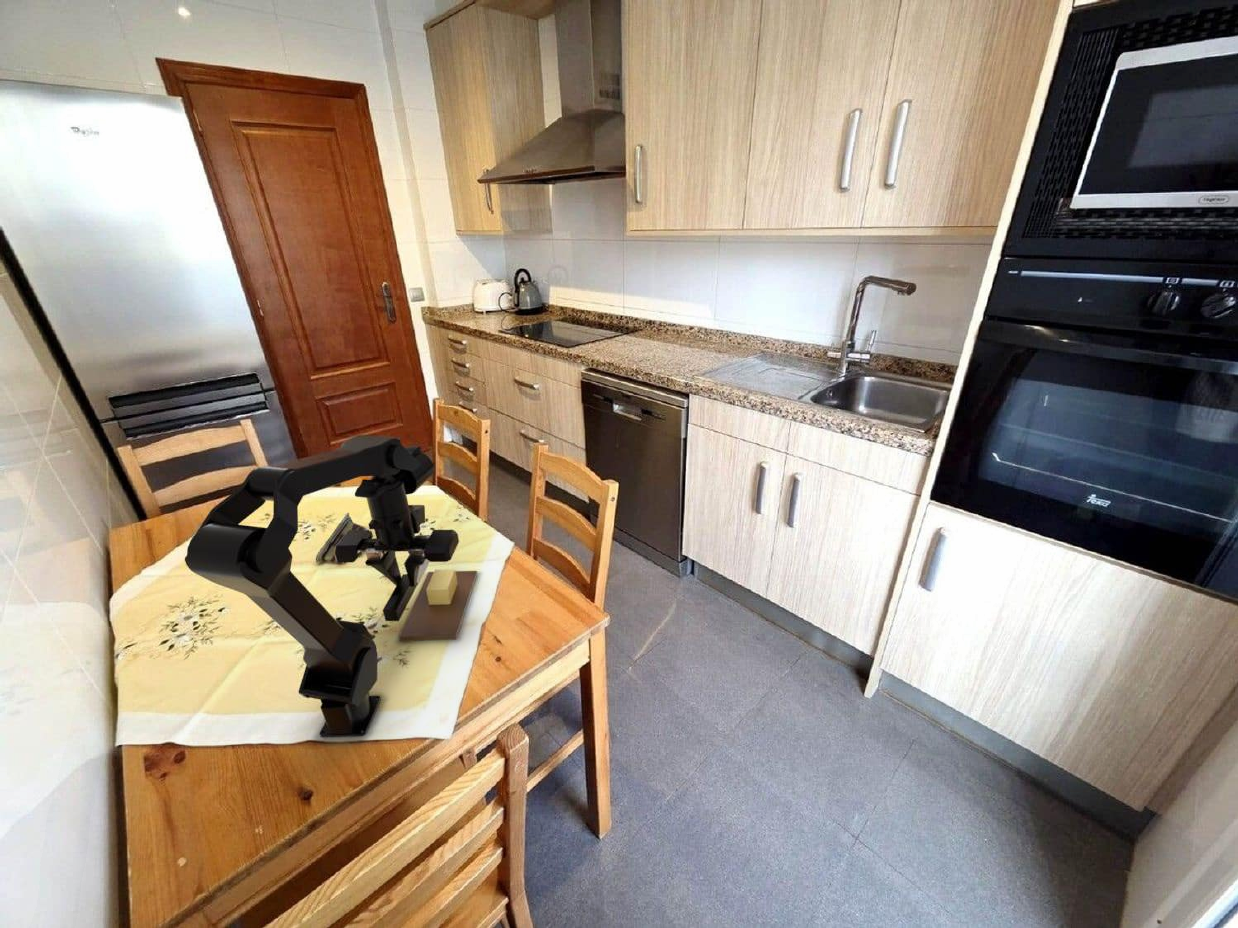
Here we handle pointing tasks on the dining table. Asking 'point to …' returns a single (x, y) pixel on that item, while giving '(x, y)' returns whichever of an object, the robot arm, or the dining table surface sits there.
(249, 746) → the dining table surface
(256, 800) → the dining table surface
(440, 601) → the butter block
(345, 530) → the chocolate cake
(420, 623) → the board
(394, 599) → the knife
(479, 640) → the dining table surface
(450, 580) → the butter slab
